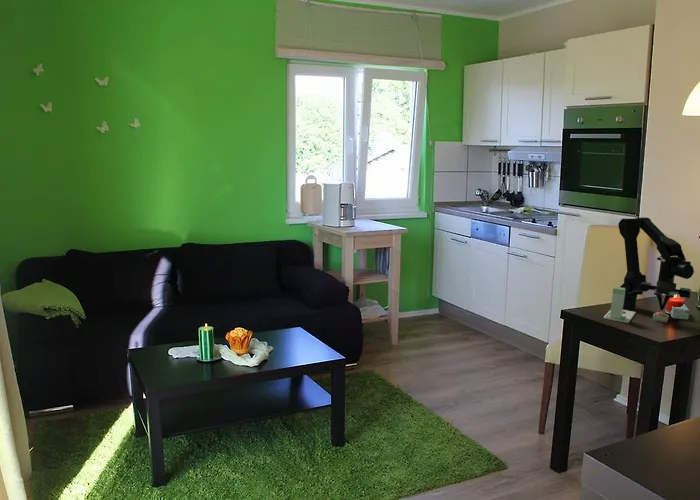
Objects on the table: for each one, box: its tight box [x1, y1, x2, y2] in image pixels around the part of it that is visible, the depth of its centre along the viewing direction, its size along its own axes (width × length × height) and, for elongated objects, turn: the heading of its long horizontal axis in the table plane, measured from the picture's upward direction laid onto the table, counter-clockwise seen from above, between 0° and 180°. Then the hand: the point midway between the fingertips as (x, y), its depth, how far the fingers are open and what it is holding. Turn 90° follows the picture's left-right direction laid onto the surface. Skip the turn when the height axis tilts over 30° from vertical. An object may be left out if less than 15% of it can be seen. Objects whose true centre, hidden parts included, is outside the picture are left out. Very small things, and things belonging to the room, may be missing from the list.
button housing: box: [652, 312, 669, 324], centre depth 253 cm, size 5×5×2 cm
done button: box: [655, 311, 667, 317], centre depth 253 cm, size 4×4×2 cm
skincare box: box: [670, 303, 690, 320], centre depth 261 cm, size 6×4×12 cm
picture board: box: [602, 308, 636, 324], centre depth 257 cm, size 18×10×1 cm, turn 147°
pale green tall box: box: [609, 286, 626, 319], centre depth 252 cm, size 4×4×12 cm
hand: (661, 310), depth 252 cm, fingers closed
